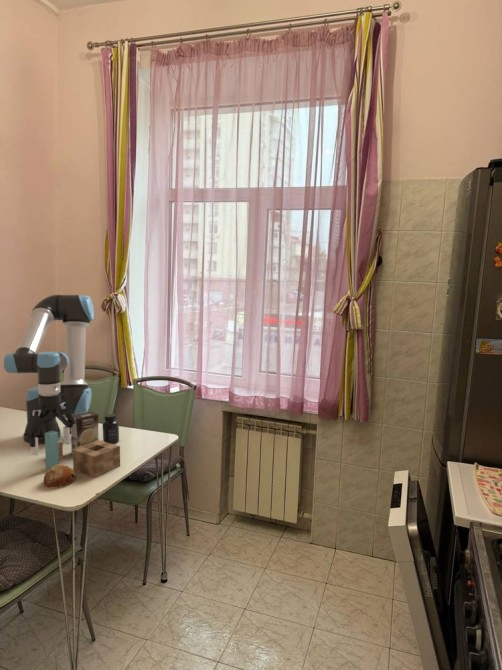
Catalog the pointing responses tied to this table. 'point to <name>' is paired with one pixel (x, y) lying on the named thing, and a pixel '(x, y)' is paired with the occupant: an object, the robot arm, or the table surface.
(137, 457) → the table surface
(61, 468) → the bread roll
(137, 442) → the table surface
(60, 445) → the short peg
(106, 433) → the supplement bottle
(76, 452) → the hole block
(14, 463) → the table surface
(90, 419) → the coffee box
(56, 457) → the long peg
